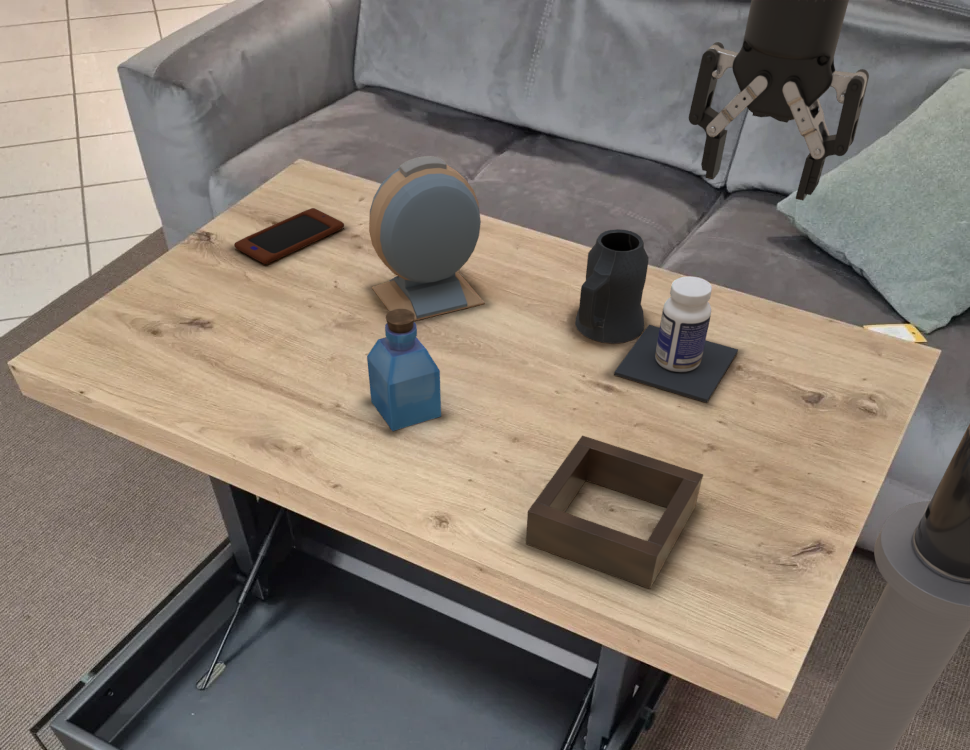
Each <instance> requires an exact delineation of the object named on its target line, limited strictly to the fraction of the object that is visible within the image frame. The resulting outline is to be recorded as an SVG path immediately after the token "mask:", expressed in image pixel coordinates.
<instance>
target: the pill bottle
mask: <svg viewBox="0 0 970 750" xmlns="http://www.w3.org/2000/svg"><path fill="white" fill-rule="evenodd" d="M712 291H713V286H712V284H711V283H710V282H709V281H708V280H706V279H704V278H702V277H698V276H692V275H691V276H690V275H689V276H680V277H678V278H676V279H674V280H673V281H672V283H671V286H670V291H669V295H670V296H669V297H668V298H667V299H666V300H665V302H664V304H663V306H662V311H661V318H660V323H659V327H660V329H659V335H658V341H657V347H656V354H655V357H656V361H657V362H658V364H659V365H660V366H662V367H663V368H665V369H667V370H670V371H674V372H687V371H691V370H693V369H695V368H696V367H698V366H699V364H700V362H701V359H702V355H703V350H704V345H705V341H707V336H708V330H709V326H710V321H711V317H712V306H711V304H710V302H709V301H710V300H711V297H712Z"/></svg>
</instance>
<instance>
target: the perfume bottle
mask: <svg viewBox="0 0 970 750" xmlns="http://www.w3.org/2000/svg"><path fill="white" fill-rule="evenodd" d="M414 318H415V315H414V313H413V312H412V311H410V310H407V309H394V310H391V311H389V310H388V312H387V313H386V314H385V321H386V324H384V332H385V337H381V338H378V339H377V340H376V342H375V343H374V345H372V348H370V350H369V352H368V354H367V355H366V362H367V372H368V382H369V392H370V402H371V404H372V405H373V407H374V408H375V410H376V411H377V412H378V413H379V415H380V416H381V418H382V419H383V420H384V422H385V423H386V425H387V426H388V427H389V429H390V430H391V431H392V432H395V431H398V430H402V429H404V428H408V427H411V426H415V425H418V424H421V423H424V422H428V421H431V420H434V419H437V418H441V417H442V400H441V397H442V396H441V370H440V368H439V366H438V365H437V364H436V362H435V361H434V359H433V357H432V356H431V354H430V353H429V351H428V350H427V348H426V346H425V345H424V344H423V343H422V342H421V341H420V340H419V338H418V337H417V336H418V329H417V328H418V327H417V326H418V325H417V323H416V322H415V321H414Z"/></svg>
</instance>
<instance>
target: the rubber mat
mask: <svg viewBox="0 0 970 750" xmlns="http://www.w3.org/2000/svg"><path fill="white" fill-rule="evenodd" d="M659 329H660V326H657V325H653V324H648V325H647V327H646V328H644V330H643V332H642V334H641V335H640V336H639V337H638V339H637V340H636V342H635V343H634V345H632V347H631V348H630V350H629V351H628V352H627V354H626V355H625V356H624V358H623V360H622V361H621V362H620V363H619V365H618V366H617V368H615V370H614V372H613V376H616V377H619V378H622V379H625V380H629V381H633V382H635V383H639V384H642V385H646V386H649V387H651V388H652V387H653V388H655V389H659V390H662V391H666V392H669V393H673V394H676V395H678V396H682V397H684V398H685V397H686V398H689V399H692V400H696V401H699V402H702V403H706V404H708V402H709V400H710V399H711V397H712V396H713V394H714V392H715V391H716V389H717V387H718V386H719V384H720V382H721V381H722V379H723V377H724V375H725V374H726V373H727V371H728V369H729V368H730V366H731V365H732V362H733V360H735V358H736V356H737V354H738V352H739V349H738V348H735V347H731V346H727V345H724V344H722V343H721V344H720V343H717V342H713V341H710V340H706V341H705V345H704V350H703V355H702V359H701V362H700V364H699V366H698V367H696V368H695V369H693V370H691V371H687V372H674V371H670V370H667V369H665V368H663V367H662V366H660V365H659V364H658V362H657V361H656V357H655V354H656V347H657V341H658V335H659Z"/></svg>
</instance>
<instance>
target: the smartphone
mask: <svg viewBox="0 0 970 750" xmlns="http://www.w3.org/2000/svg"><path fill="white" fill-rule="evenodd" d="M343 228H345V224H344V222H343V221H342V220H339V219H337V218H336V217H333V216H331V215H329V214H327V213H326V212H323V211H321V210H319V209H318V208H314V207H311V208H309V209H306V210H303V211H301V212H299V213H297V214H295V215H293V216H289V217H288V218H285V219H283V220H281V221H279V222H277V223H274V224H272V225H270V226H268V227H265V228H263V229H261V230H259V231H256V232H254V233H252V234H250V235H248V236H245V237H242V238H241V239H239V240H238V241H235V242H234V245H233V247H234V248H235V249H236V250H238V251H240V252H242V253H243V254H245V255H247V256H249V257H251V258H252V259H254V260H256V261H258V262H259V263H262V264H264V265H267V264H270V263H272V262H275V261H277V260H279V259H282V258H283V257H285V256H288V255H290V254H292V253H294V252H295V251H298V250H301V249H303V248H305V247H308V246H309V245H311V244H313V243H315V242H317V241H319V240H322V239H324V238H326V237H328V236H331V235H332V234H334V233H337V232H338V231H340V230H342V229H343Z"/></svg>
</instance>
